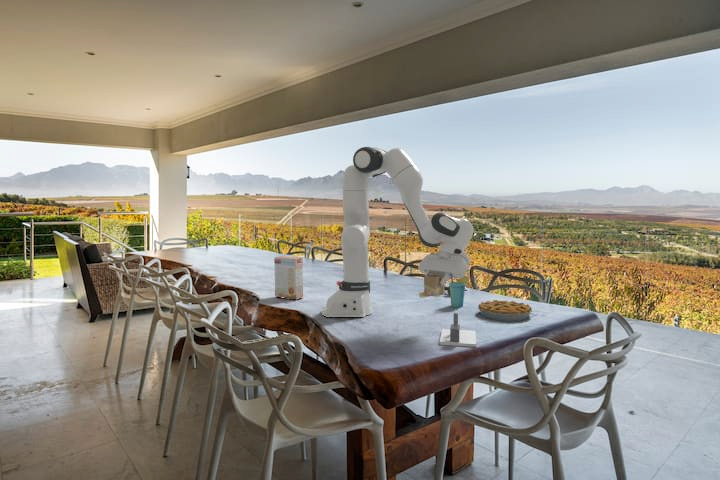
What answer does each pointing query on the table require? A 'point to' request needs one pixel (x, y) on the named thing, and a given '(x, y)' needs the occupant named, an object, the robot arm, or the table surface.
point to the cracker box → (288, 277)
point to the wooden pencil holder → (432, 286)
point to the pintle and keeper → (454, 329)
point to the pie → (505, 310)
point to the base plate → (465, 338)
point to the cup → (458, 291)
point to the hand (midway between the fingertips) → (433, 283)
